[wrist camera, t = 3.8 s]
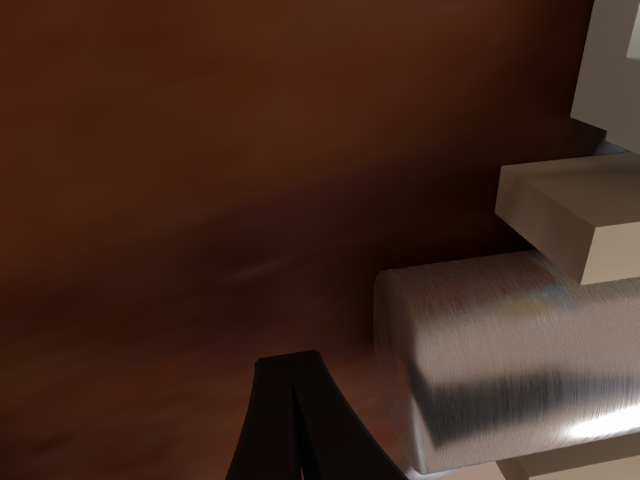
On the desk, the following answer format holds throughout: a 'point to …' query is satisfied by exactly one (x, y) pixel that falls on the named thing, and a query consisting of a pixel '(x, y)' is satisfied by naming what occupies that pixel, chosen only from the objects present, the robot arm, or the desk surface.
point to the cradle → (611, 73)
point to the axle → (504, 358)
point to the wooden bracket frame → (578, 273)
